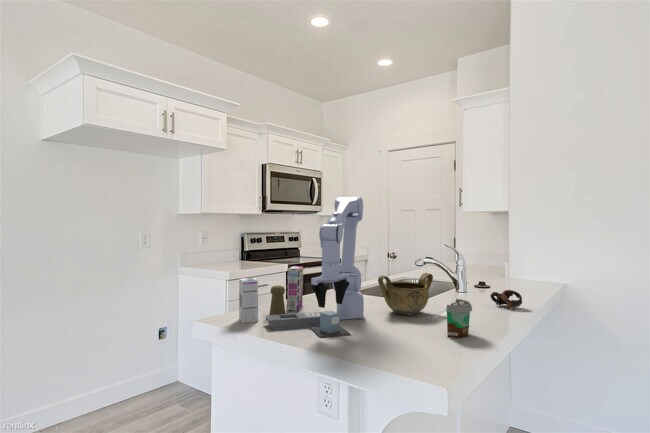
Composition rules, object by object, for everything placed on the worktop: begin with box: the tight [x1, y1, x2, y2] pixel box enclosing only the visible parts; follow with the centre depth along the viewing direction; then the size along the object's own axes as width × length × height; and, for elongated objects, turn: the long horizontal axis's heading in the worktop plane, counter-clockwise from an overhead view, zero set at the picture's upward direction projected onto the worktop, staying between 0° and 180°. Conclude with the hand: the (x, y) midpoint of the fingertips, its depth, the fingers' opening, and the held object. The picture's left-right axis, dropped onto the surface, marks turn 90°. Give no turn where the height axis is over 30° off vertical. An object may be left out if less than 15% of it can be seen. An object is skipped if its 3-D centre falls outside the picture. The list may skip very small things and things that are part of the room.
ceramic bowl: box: [377, 272, 434, 316], centre depth 149 cm, size 22×17×15 cm
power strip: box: [265, 310, 335, 330], centre depth 132 cm, size 24×7×4 cm, turn 108°
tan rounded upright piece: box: [268, 285, 286, 315], centre depth 143 cm, size 6×6×11 cm
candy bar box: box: [285, 265, 304, 313], centre depth 155 cm, size 11×5×16 cm, turn 175°
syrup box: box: [238, 277, 259, 324], centre depth 136 cm, size 6×6×14 cm
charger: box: [319, 310, 341, 333], centre depth 123 cm, size 4×4×6 cm
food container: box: [445, 298, 473, 339], centre depth 121 cm, size 12×6×10 cm, turn 148°
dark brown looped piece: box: [490, 289, 523, 310], centre depth 161 cm, size 12×10×8 cm
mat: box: [310, 325, 352, 339], centre depth 123 cm, size 10×10×1 cm
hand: (330, 305), depth 123 cm, fingers open, 7 cm apart
